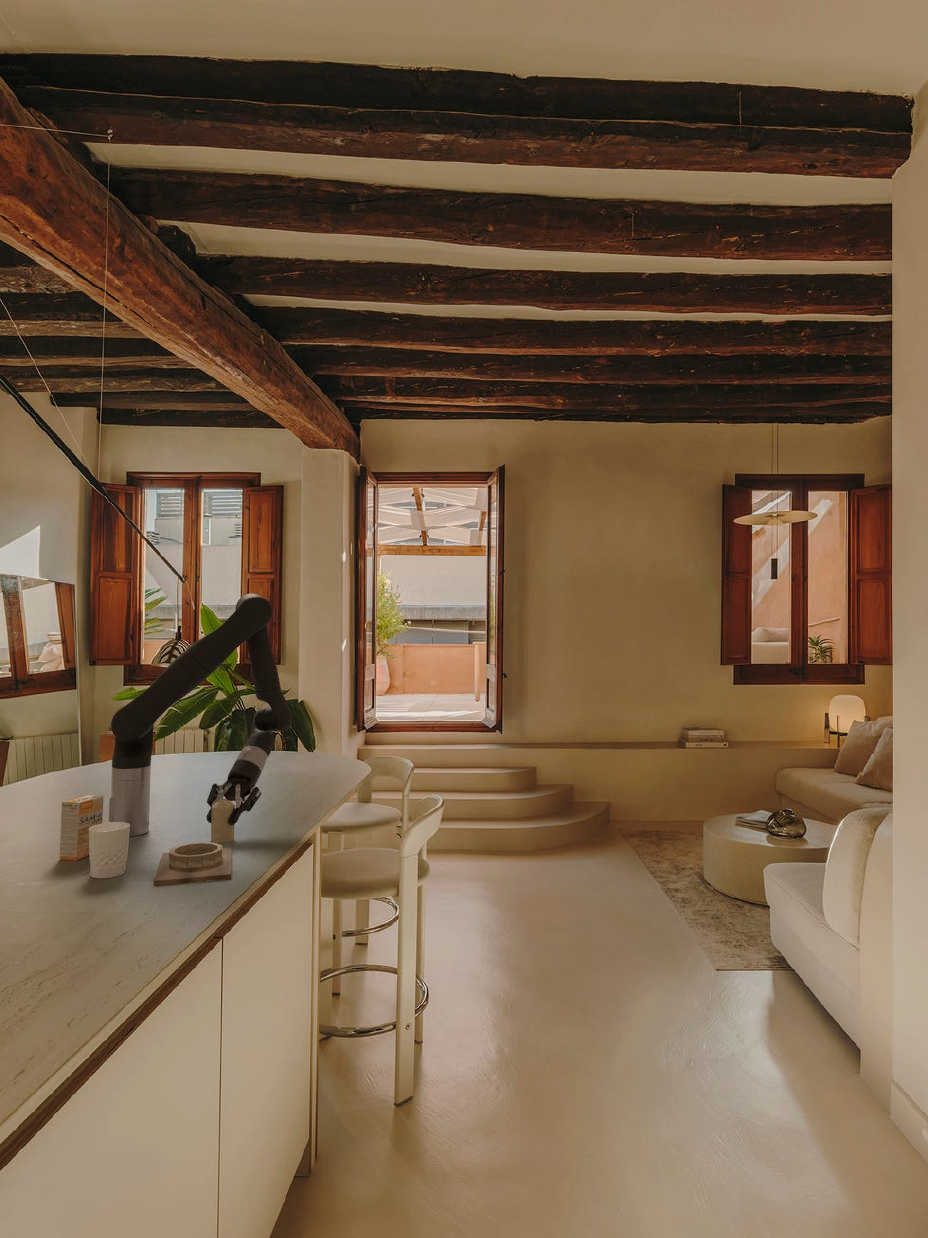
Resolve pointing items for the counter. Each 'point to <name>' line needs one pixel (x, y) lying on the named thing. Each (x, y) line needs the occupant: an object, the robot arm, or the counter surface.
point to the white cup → (108, 849)
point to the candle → (222, 822)
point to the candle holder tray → (194, 864)
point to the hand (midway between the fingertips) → (219, 822)
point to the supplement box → (79, 825)
